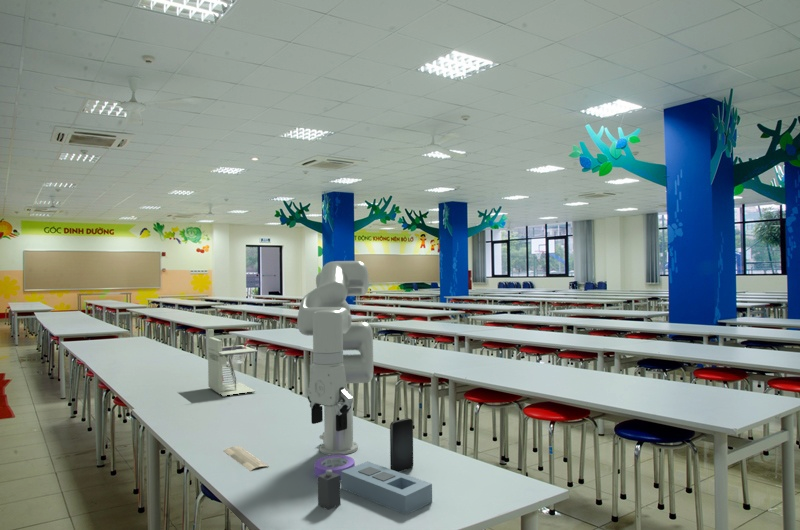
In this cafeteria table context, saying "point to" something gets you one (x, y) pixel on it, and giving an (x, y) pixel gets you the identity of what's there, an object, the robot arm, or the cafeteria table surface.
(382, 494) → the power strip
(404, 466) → the phone
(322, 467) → the masking tape
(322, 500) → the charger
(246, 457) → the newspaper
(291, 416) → the cafeteria table surface
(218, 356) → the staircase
